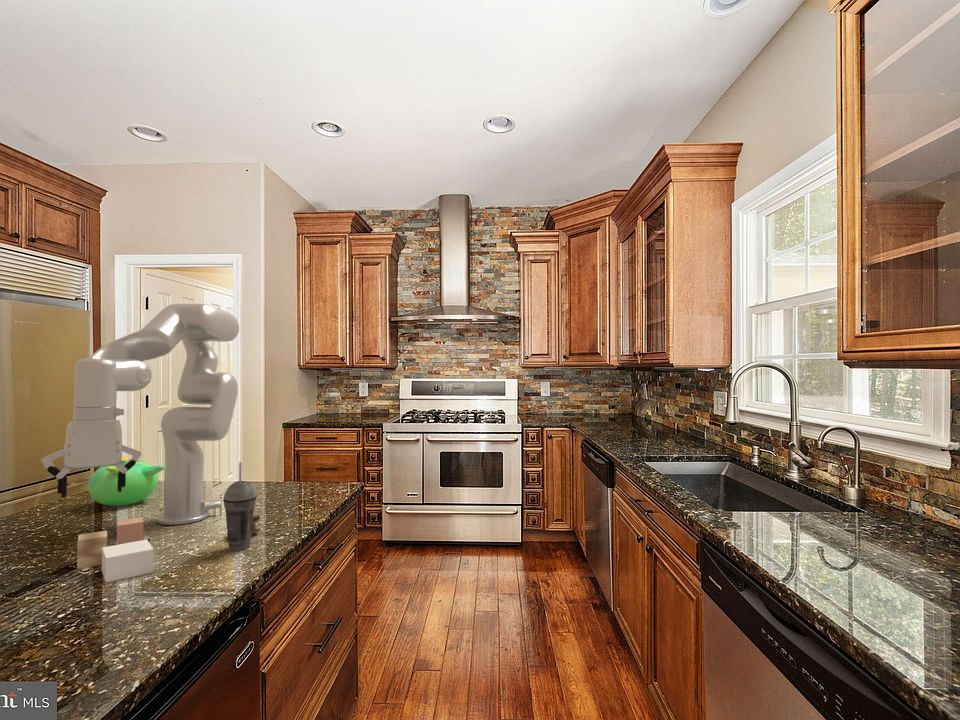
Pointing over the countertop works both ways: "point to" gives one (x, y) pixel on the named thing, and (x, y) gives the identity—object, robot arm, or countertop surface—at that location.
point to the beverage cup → (239, 513)
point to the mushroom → (255, 519)
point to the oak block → (91, 549)
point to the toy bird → (136, 487)
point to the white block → (127, 560)
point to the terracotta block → (129, 530)
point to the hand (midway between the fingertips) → (92, 493)
